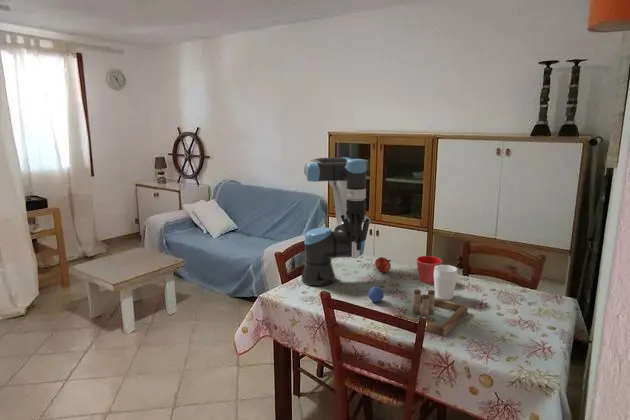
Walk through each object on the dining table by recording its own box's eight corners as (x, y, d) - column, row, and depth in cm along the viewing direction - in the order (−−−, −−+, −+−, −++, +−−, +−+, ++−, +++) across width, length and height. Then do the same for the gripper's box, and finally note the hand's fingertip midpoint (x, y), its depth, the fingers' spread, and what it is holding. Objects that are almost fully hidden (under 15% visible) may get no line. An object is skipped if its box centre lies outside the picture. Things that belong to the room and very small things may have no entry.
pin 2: (425, 313, 154) (426, 291, 152) (428, 311, 155) (429, 289, 154) (432, 315, 152) (433, 293, 150) (434, 312, 154) (435, 290, 152)
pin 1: (420, 318, 150) (421, 296, 148) (423, 316, 152) (424, 293, 150) (426, 320, 148) (427, 297, 146) (429, 317, 150) (430, 295, 148)
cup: (457, 302, 163) (459, 272, 161) (433, 300, 165) (434, 271, 162) (454, 292, 172) (456, 265, 169) (431, 291, 173) (433, 263, 171)
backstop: (393, 320, 148) (393, 314, 148) (418, 299, 165) (418, 293, 165) (445, 336, 137) (446, 329, 136) (467, 312, 154) (467, 306, 154)
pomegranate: (373, 278, 195) (389, 269, 189) (366, 263, 198) (381, 254, 192) (382, 275, 201) (397, 266, 195) (375, 261, 203) (390, 252, 197)
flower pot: (445, 284, 181) (446, 262, 179) (421, 285, 179) (422, 264, 177) (434, 275, 191) (435, 255, 189) (412, 277, 190) (412, 256, 188)
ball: (365, 302, 164) (365, 287, 163) (373, 297, 169) (373, 283, 167) (379, 305, 160) (379, 291, 159) (386, 300, 165) (386, 286, 164)
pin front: (412, 312, 154) (412, 291, 152) (414, 310, 156) (415, 288, 154) (418, 314, 153) (419, 292, 151) (420, 312, 155) (421, 290, 153)
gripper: (336, 198, 163) (336, 256, 168) (366, 202, 155) (365, 263, 160) (346, 196, 169) (346, 252, 174) (376, 199, 161) (375, 257, 166)
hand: (355, 257), depth 167 cm, fingers closed
